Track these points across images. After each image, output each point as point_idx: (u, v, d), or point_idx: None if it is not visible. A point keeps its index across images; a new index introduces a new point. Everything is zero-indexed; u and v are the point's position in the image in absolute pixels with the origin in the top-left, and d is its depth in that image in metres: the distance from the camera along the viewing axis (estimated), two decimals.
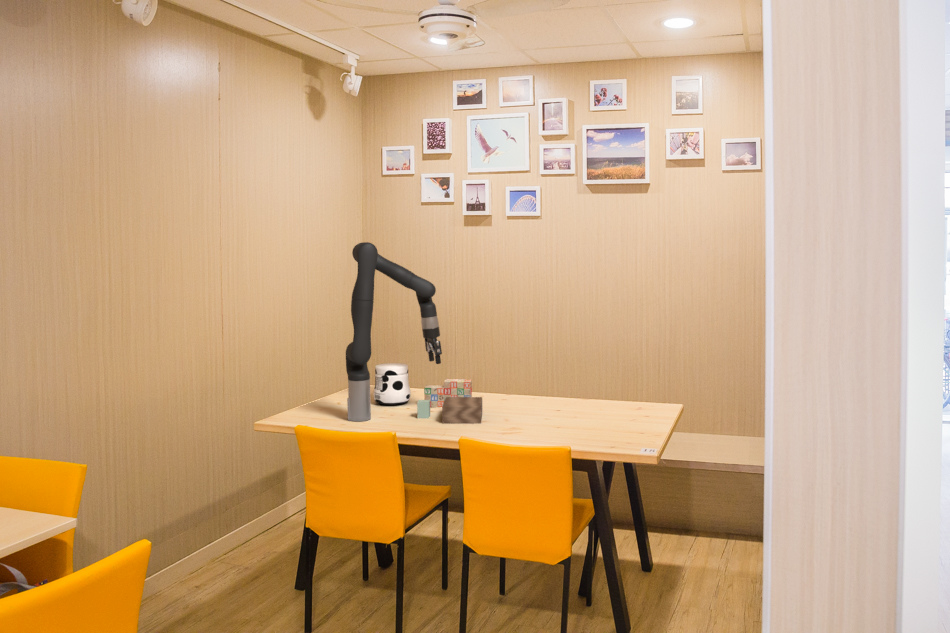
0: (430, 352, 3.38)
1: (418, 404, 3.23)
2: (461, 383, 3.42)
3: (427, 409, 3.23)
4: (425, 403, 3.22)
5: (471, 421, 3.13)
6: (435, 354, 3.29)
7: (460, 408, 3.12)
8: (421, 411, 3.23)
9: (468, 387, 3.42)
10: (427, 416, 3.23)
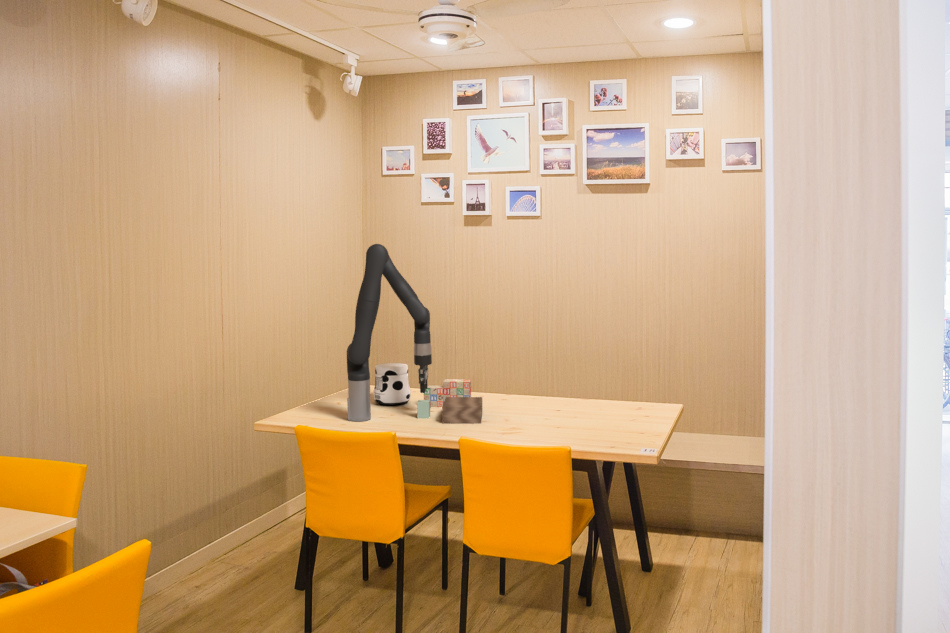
0: (424, 379, 3.28)
1: (418, 404, 3.23)
2: (460, 383, 3.42)
3: (427, 409, 3.23)
4: (425, 403, 3.22)
5: (471, 421, 3.13)
6: (419, 382, 3.19)
7: (460, 408, 3.12)
8: (421, 411, 3.23)
9: (467, 387, 3.42)
10: (427, 416, 3.23)
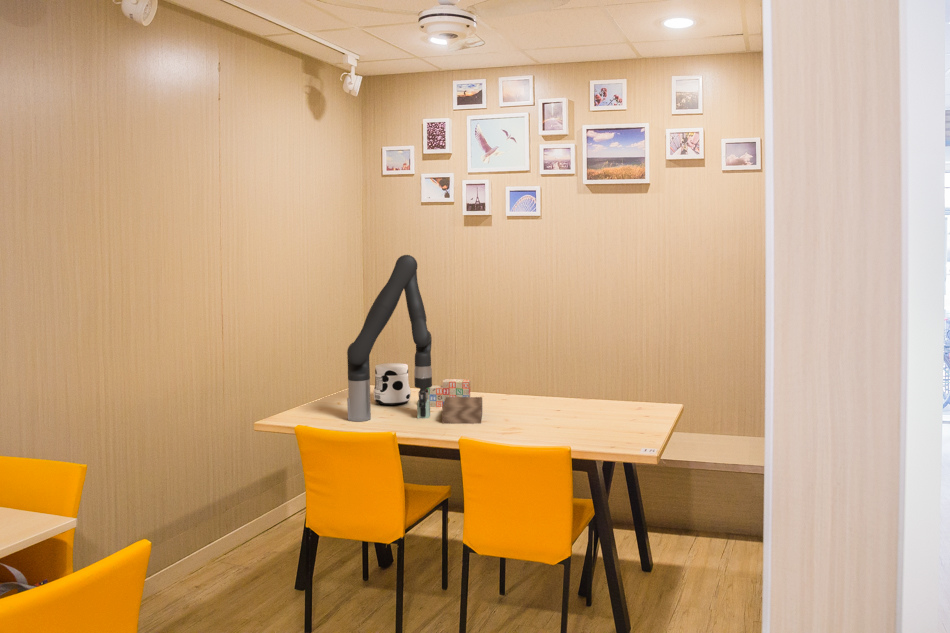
0: None
1: (418, 404, 3.23)
2: (460, 383, 3.42)
3: (427, 409, 3.23)
4: None
5: (471, 421, 3.13)
6: (419, 406, 3.21)
7: (460, 408, 3.12)
8: None
9: (467, 387, 3.42)
10: (427, 416, 3.23)
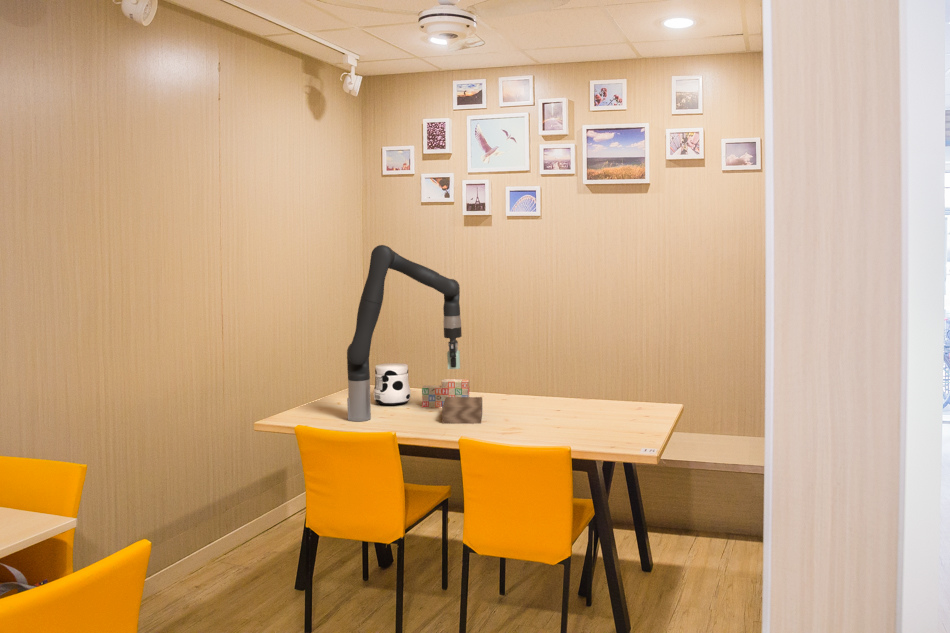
0: None
1: (448, 354, 3.19)
2: (459, 383, 3.42)
3: (457, 359, 3.19)
4: None
5: (471, 421, 3.13)
6: (450, 356, 3.18)
7: (460, 408, 3.12)
8: None
9: (466, 387, 3.42)
10: (457, 366, 3.19)
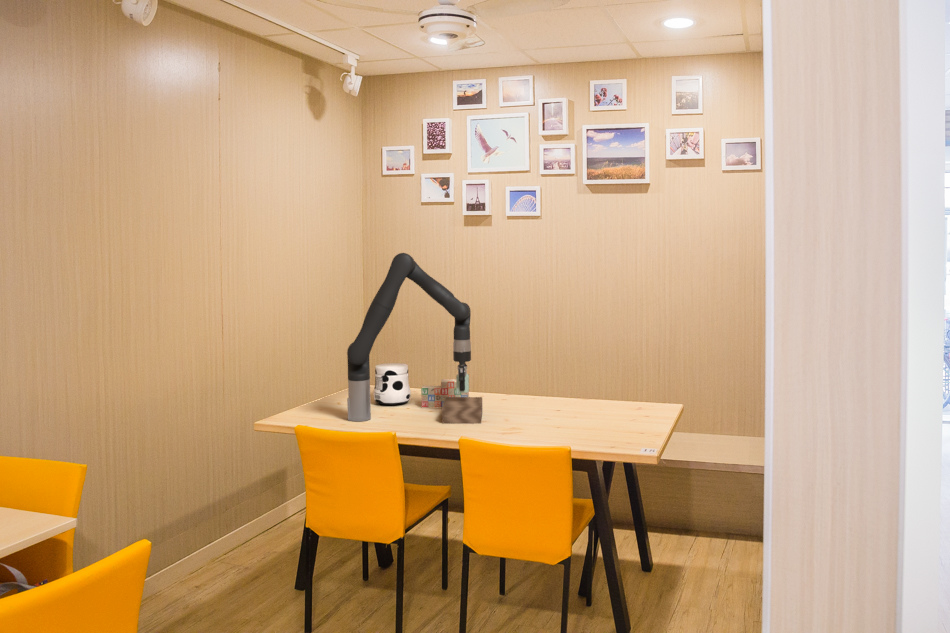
0: None
1: (457, 378, 3.19)
2: None
3: (466, 383, 3.19)
4: (465, 377, 3.19)
5: (471, 421, 3.13)
6: (459, 380, 3.18)
7: (460, 408, 3.12)
8: None
9: None
10: (466, 390, 3.19)
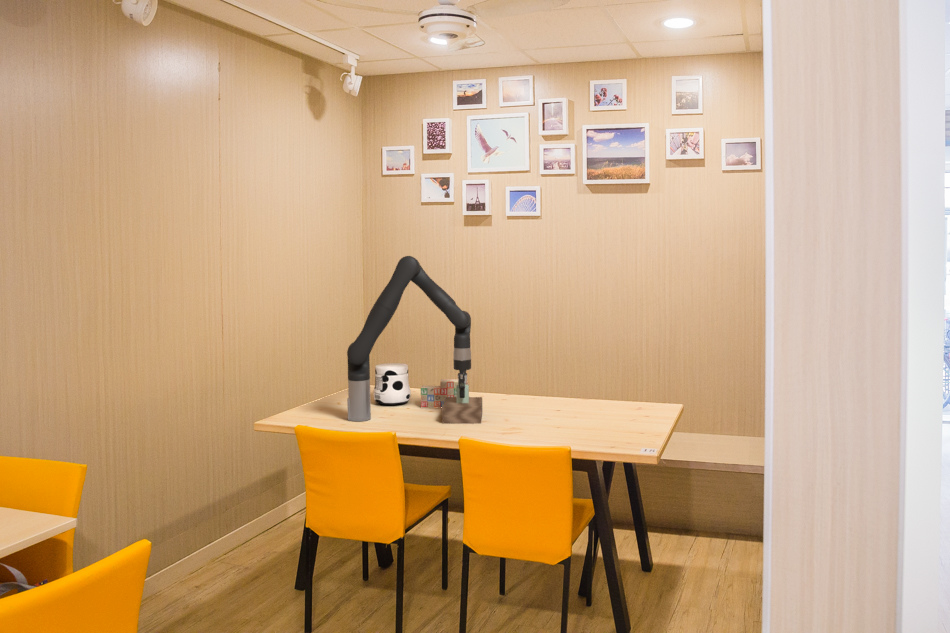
0: (462, 384, 3.26)
1: (457, 388, 3.19)
2: None
3: (466, 393, 3.19)
4: (465, 388, 3.19)
5: (471, 421, 3.13)
6: (459, 387, 3.16)
7: (460, 408, 3.12)
8: None
9: None
10: (466, 401, 3.20)
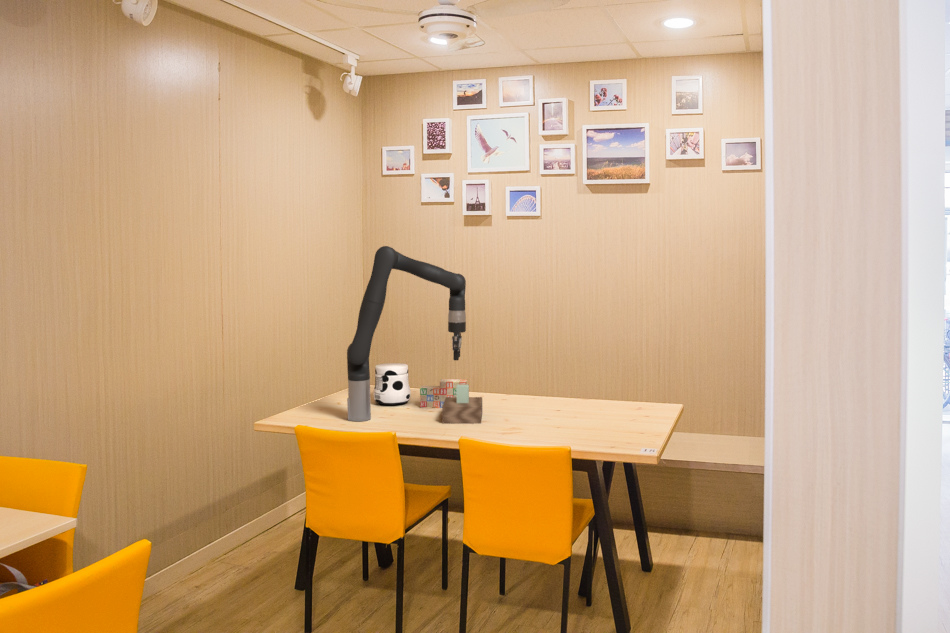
0: (457, 348, 3.25)
1: (457, 388, 3.19)
2: (457, 383, 3.42)
3: (466, 393, 3.19)
4: (465, 388, 3.19)
5: (471, 421, 3.13)
6: (453, 349, 3.16)
7: (460, 408, 3.12)
8: (460, 395, 3.19)
9: None
10: (466, 401, 3.20)
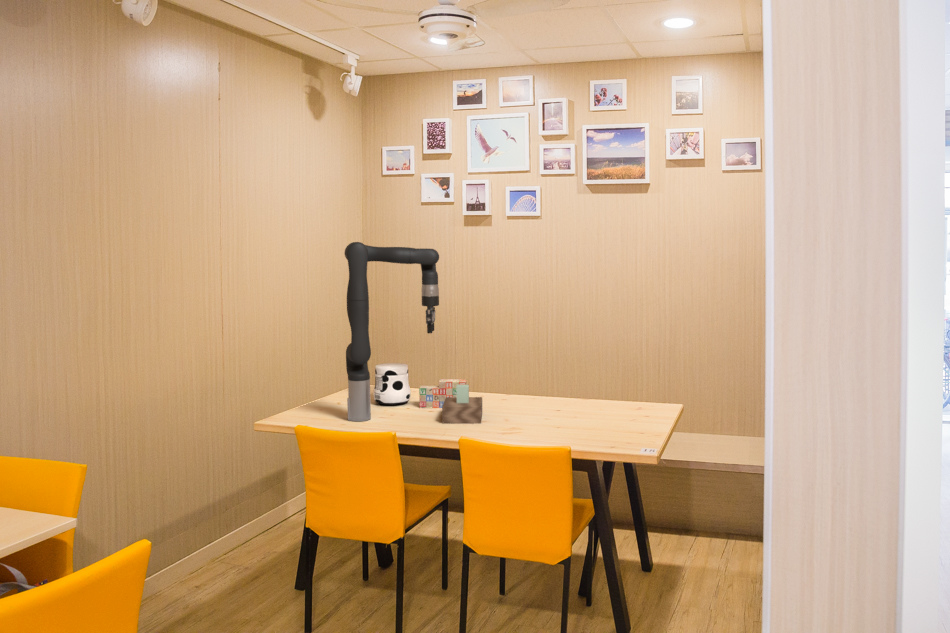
0: None
1: (457, 388, 3.19)
2: (456, 383, 3.42)
3: (466, 393, 3.19)
4: (465, 388, 3.19)
5: (471, 421, 3.13)
6: None
7: (460, 408, 3.12)
8: (460, 395, 3.19)
9: None
10: (466, 401, 3.20)
